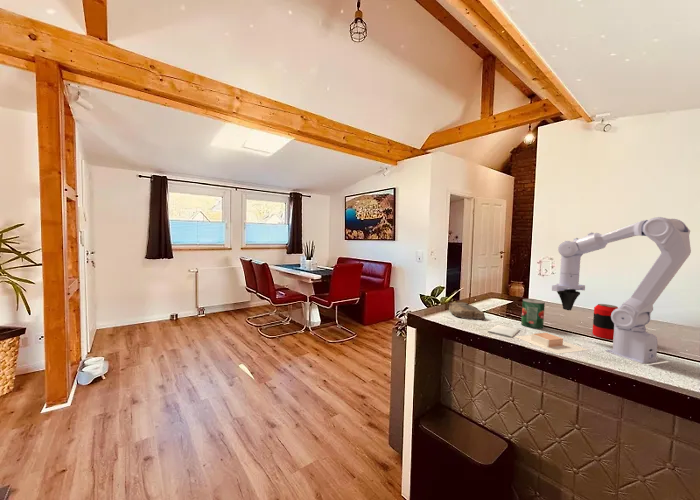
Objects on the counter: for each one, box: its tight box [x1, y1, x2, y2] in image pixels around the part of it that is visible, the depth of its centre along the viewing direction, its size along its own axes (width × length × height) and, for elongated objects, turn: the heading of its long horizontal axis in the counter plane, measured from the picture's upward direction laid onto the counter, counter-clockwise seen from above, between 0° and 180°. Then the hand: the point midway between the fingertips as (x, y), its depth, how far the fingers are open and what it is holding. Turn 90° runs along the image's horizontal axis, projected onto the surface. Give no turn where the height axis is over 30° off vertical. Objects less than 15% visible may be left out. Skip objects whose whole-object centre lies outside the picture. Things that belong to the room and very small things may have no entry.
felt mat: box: [514, 334, 589, 355], centre depth 100 cm, size 16×14×1 cm
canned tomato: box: [520, 298, 546, 330], centre depth 120 cm, size 8×8×11 cm
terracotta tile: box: [530, 332, 564, 347], centre depth 99 cm, size 6×2×7 cm
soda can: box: [592, 303, 619, 341], centre depth 110 cm, size 8×8×12 cm
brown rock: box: [448, 301, 486, 320], centre depth 139 cm, size 14×5×20 cm
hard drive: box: [487, 324, 521, 339], centre depth 111 cm, size 2×8×12 cm
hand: (567, 309), depth 107 cm, fingers closed
